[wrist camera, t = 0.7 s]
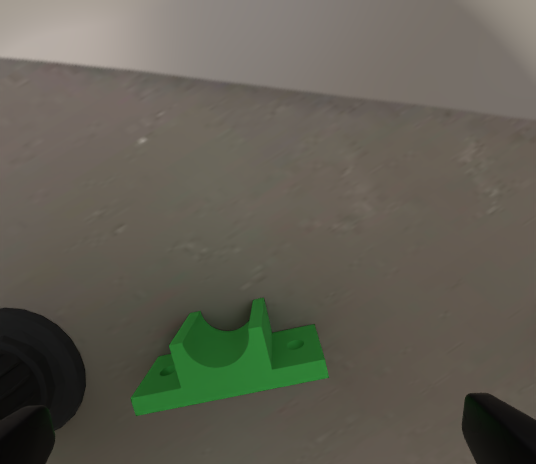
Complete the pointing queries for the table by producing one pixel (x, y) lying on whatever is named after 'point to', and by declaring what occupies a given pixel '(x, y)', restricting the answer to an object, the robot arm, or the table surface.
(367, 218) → the table surface
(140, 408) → the pipe clamp
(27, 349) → the handle grip
